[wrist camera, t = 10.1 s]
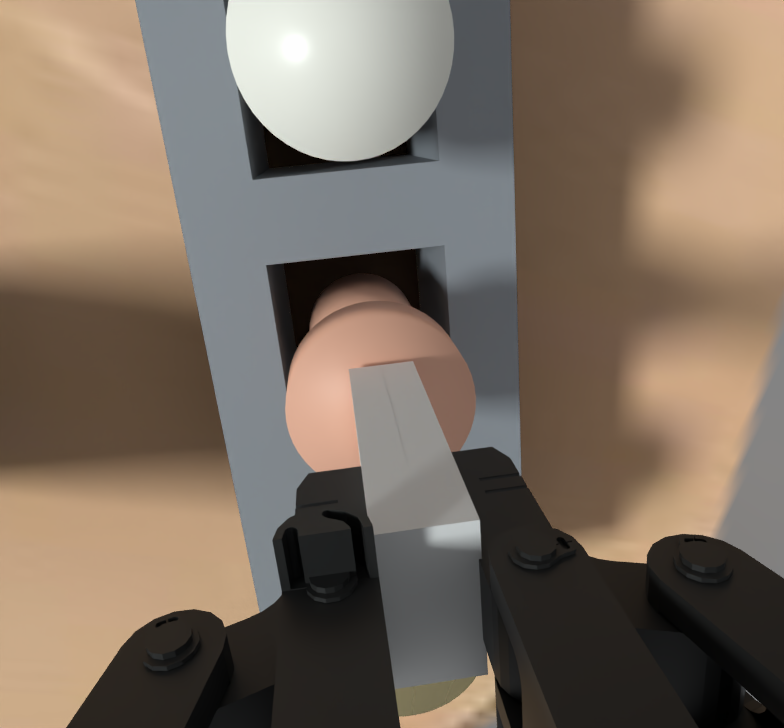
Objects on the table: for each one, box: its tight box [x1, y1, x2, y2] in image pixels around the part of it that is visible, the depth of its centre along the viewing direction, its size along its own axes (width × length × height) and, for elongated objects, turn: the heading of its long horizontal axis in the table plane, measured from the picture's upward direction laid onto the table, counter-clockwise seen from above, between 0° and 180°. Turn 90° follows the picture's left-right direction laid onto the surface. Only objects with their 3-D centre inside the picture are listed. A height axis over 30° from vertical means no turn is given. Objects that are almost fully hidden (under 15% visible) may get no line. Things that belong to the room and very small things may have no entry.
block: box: [135, 0, 521, 612], centre depth 24 cm, size 26×10×7 cm, turn 5°
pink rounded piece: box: [285, 273, 476, 472], centre depth 19 cm, size 5×5×7 cm
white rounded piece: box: [226, 0, 454, 161], centre depth 16 cm, size 5×5×7 cm
